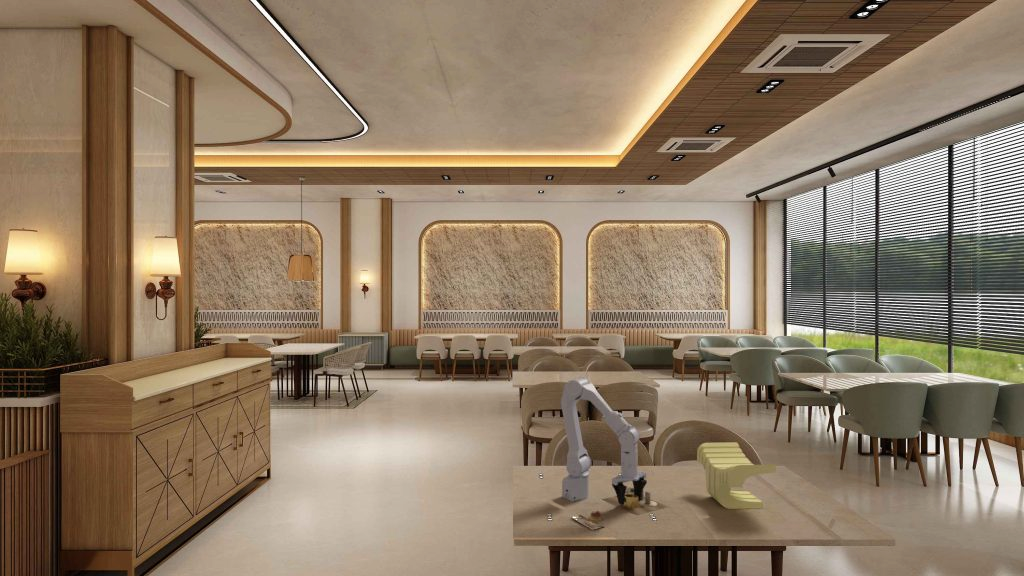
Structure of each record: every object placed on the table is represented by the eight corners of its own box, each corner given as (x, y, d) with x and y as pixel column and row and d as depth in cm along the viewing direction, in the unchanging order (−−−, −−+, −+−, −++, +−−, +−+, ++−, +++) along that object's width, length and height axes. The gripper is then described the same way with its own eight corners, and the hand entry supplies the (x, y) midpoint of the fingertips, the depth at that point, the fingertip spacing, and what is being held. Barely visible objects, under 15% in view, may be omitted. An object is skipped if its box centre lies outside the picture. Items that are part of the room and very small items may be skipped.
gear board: (636, 518, 201) (636, 503, 201) (601, 502, 216) (601, 488, 216) (668, 509, 209) (668, 495, 209) (632, 494, 224) (632, 481, 224)
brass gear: (628, 509, 207) (628, 499, 207) (619, 504, 211) (619, 494, 211) (639, 506, 209) (639, 496, 209) (629, 502, 214) (629, 492, 214)
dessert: (621, 525, 196) (621, 511, 196) (592, 532, 190) (592, 517, 190) (599, 513, 206) (599, 499, 207) (570, 520, 201) (570, 506, 201)
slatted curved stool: (697, 488, 231) (697, 442, 232) (737, 488, 232) (737, 442, 233) (729, 518, 202) (729, 465, 202) (775, 517, 202) (775, 464, 203)
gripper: (621, 469, 203) (621, 509, 203) (652, 462, 211) (652, 501, 210) (607, 464, 209) (607, 503, 209) (638, 457, 217) (638, 495, 216)
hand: (629, 501), depth 210 cm, fingers open, 7 cm apart
